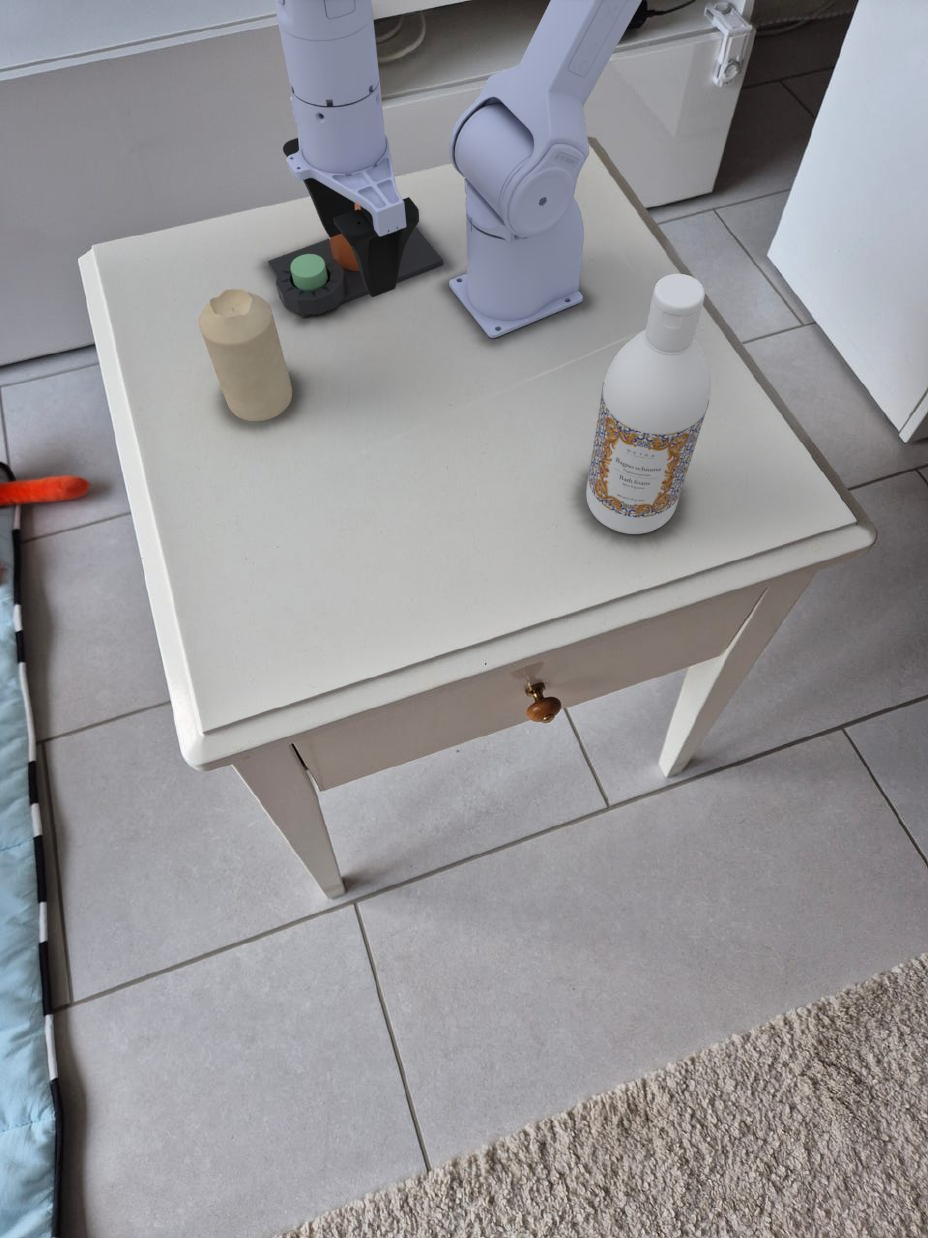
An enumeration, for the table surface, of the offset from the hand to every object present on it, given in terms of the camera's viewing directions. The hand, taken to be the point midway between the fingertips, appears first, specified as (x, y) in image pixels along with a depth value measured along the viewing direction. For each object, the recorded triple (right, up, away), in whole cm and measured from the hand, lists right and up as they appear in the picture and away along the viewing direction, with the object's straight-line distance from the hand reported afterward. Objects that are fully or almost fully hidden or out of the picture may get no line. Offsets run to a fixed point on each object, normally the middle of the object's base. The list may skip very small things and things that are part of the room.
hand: (360, 259), depth 69 cm
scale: (-2, +5, +14) cm, 15 cm away
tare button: (-6, +2, +10) cm, 12 cm away
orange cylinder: (-2, +6, +14) cm, 15 cm away
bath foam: (+21, -19, 0) cm, 28 cm away
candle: (-9, -9, +6) cm, 14 cm away
